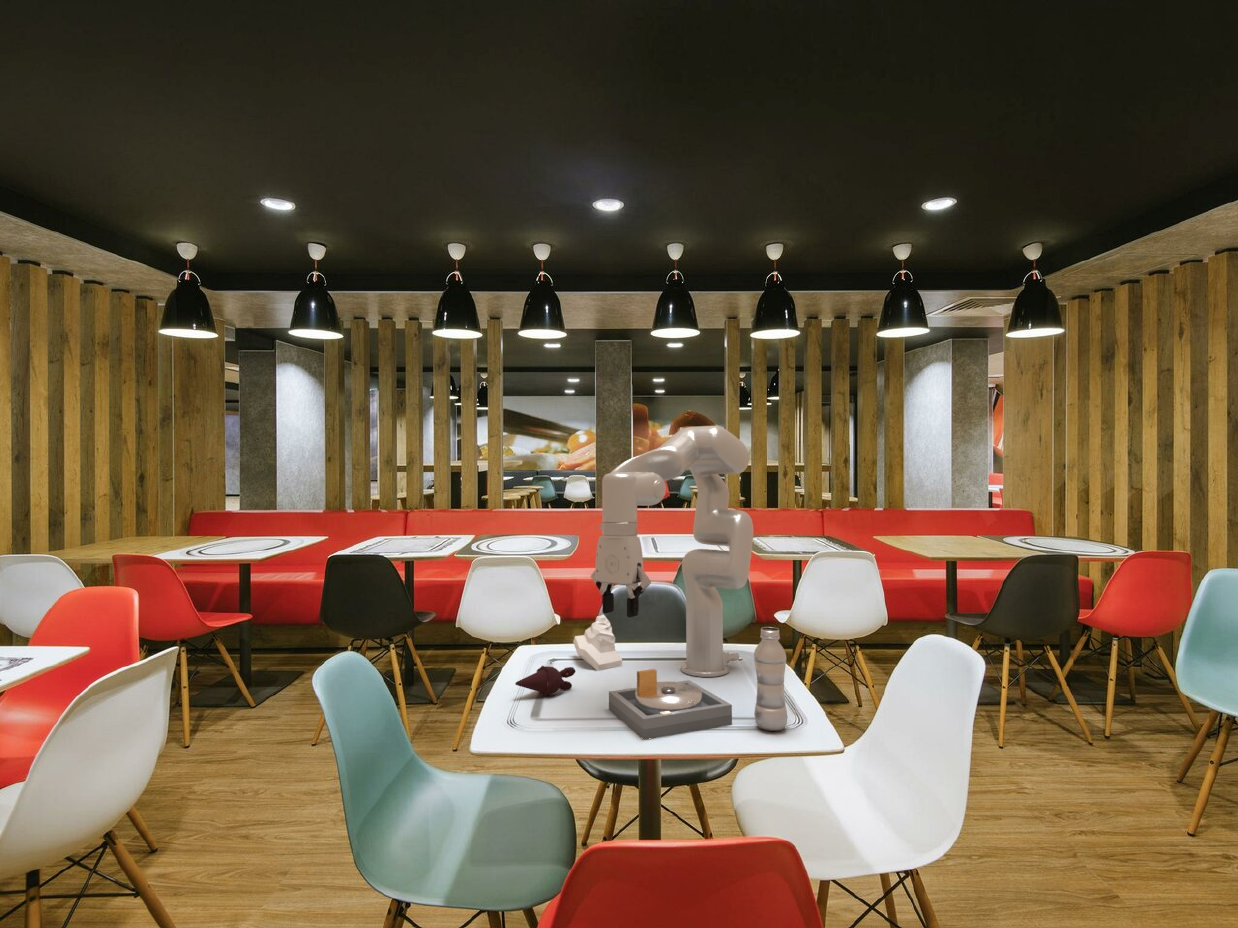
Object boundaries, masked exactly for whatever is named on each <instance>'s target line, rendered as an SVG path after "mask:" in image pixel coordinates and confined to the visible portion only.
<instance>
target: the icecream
mask: <svg viewBox="0 0 1238 928" xmlns="http://www.w3.org/2000/svg"><path fill="white" fill-rule="evenodd" d="M575 674H576V669H575V668H574V667H572V666H569V667H565V668H564V669H561V670H560V671H559V670H558V669H557V668H556V667H554V666H546V665H541V667H539V668H538V669H536V672H535V673H532V674H530V675H527V676H525V677H524V678H522V679H519V680H517V681H516V682H515V686H518V687H520V688H521V687H522V688H525V689H528V690H531V691H535V692H538V693H539V695H540V696H543V697H545V698H546V697H547V696H550V695H554V694H555V693H557V692H559V690H562V691H569V690H571V689H572V688H573V684H572V682H570V681H567V680H564V679H563V678H565V679H568V678H571V677H572V676H574V675H575Z"/></svg>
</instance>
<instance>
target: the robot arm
mask: <svg viewBox="0 0 1238 928" xmlns="http://www.w3.org/2000/svg"><path fill="white" fill-rule="evenodd" d="M749 463H750V454H749V450H748V448H747V446H746V445H745V443H743V441H742V440H741V439H739V438H738V437H737V436H735V435H734V434H733V433H732V432H730V431H729V430H727V429H725V428H724V427H722V426H718V425H702V426H701V425H700V426H687V427H683V428H681V429H679V430H678V431H677V432H676V433H675V434H673V435H672V436H671V437H669V438H668V439H667V440H666V441H665V442H663V443H662V444H661V445H660V446H659V447H658V448H655V449H652V450H648V451H647V452H644V453H642V454H639V455H637V456H634V457H632V458H630V459H627V460H626V461H624V462H622V463H620V464H619V465H618V466H617V467H615V468H614V469H613V470H612V471H611V472H609V473H606V474H605V475H604V476H603V477H602V480H601V481H602V486H601V490H602V491H601V493H602V494H601V495H602V497H601V498H602V499H601V501H602V508H601V509H602V510H601V511H602V517H601V519H602V523H601V524H599V525H598V526H599V527H598V528H599V530H600V531H602V532H601V533H602V535H600V536H599V537H598V541H597V547H596V554H595V569H594V571H592V573H591V575H590V578H591V579H592V581H593V582H594V584H595V586H596V587H597V589H598V590H599V594H600V595H602V596H601V598H602V599H601V600H602V601H601V602H602V603H601V607H602V614H603V615H606V614H610V613H612V612H614V611H615V609H614V608H615V606H614V605H615V603H614V602H615V600H614V599H615V597H614V596H615V595H614V593H613V592H612V591H613V588H614V586H615V585H617V586H618V585H619V586H626V591H627V593H628V598H626V616H627V618H634V617H637V616H638V615H639V610H640V609H639V607H640V606H639V605H640V604H639V598H640V597H641V596H642V594H643V593H644V591H646V589H647V588H649V586H650V585H651V584H652V580H651V579H650V578H649V576H648V575H647V573H646V572H645V571H644V559H643V558H644V556H643V548H642V543H641V539H640V536H638V506H644V507H645V506H648V507H649V506H655V505H657V504H659V503H660V502H662V501H663V499H664V497H665V495H666V492H667V491H666V489H667V487H666V482H667V481H670V480H674V479H676V478H678V477H680V476H682V475H683V474H684V473H685V471H687V469H689V471H690V473H691V475H692V477H693V480H694V482H695V485H696V488H697V489H696V490H697V497H696V507H695V515H694V520H693V530H692V531H693V532H692V533H693V537H694V540H695V541H696V542H697V543H700V544H703V545H708V546H718V547H719V546H723V547H728V550H721V549H720V550H718V549H709V548H708V549H707V548H697V549H692V550H690V551H688V552H687V553H685V554H684V556H683V558H682V562H681V571H682V577H683V582H684V588H685V610H686V611H685V612H686V613H685V621H686V622H685V623H686V626H685V629H686V630H685V632H686V634H685V637H686V643H685V644H686V646H685V647H686V653H685V654H686V659H685V661H683V662H682V663H681V664H680V671H681V672H682V673H684V674H686V675H689V676H694V677H699V678H700V677H701V678H711V677H712V678H713V677H714V678H715V677H720V676H724V675H726V674H728V673H729V672H730V667H729V666H730V665H728V663H729V662H735V661H736V662H737V661H739V660H740V655H739V653H738V652H734V653H730V652H725V651H724V638H723V637H724V634H723V633H724V629H723V628H724V625H723V622H724V621H723V620H724V618H723V617H724V616H723V615H724V614H723V612H724V611H723V609H724V608H723V606H724V605H723V601H722V597H721V595H720V594H719V591H718V590H717V589H716V588H720V589H721V588H722V589H728V590H729V589H731V590H732V589H733V590H739V589H742V588H744V586H745V585H746V584H747V582H748V578H749V576H750V575H749V574H750V566H751V559H752V551H753V543H754V541H753V540H754V524H753V520H752V518H751V516H750V515H749V513H748V512H746V511H745V510H740V509H729V503H730V492H729V491H730V490H729V488H728V486H727V484H726V483H725V482H724V479H722V477H721V476H720V475H737V474H741V473H743V472H744V471H745V470H746V469H747V468H748V466H749Z"/></svg>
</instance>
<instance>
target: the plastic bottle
mask: <svg viewBox="0 0 1238 928" xmlns="http://www.w3.org/2000/svg"><path fill="white" fill-rule="evenodd" d="M760 639H761V641H760V642H759V643H758V645H757V646H756V648H755V649H754V653H753V658H754V666H755V671H756V673H755V674H756V681H757V682H756V687H757V688H756V699H755V700H756V701H755V706H754V720H755V724H756V725H757V726H758V728H760V729H762V730H766V731H771V732H773V731H775V732H777V731H778V732H779V731H782V730H785V728H786V726H787V724H788V719H789V718H788V710H787V706H786V698H785V697H786V696H785V690H784V689H785V671H786V663H787V654H786V651H785V649H784V647H783V646H782V644H781V643H780V642H779V640H780V639H781V636H780V629H779V628H778V627H771V626H764V627H761V628H760Z"/></svg>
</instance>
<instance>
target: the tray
mask: <svg viewBox="0 0 1238 928" xmlns="http://www.w3.org/2000/svg"><path fill="white" fill-rule="evenodd" d="M678 682H680V683H686V684H690V685H693V686H695V687H697V688H699V689H700V690H701V692H702V707H698V708H692V709H686V710H680V711H673V712H670V711H664V712H660V714H655V715H646V714H644V713H643V712H642V711H640V710H639V709H638V708H636V707H635V691H636V689H637V687H631V688H625V689H618V690H610V691H608V711H610V713H612V714H613V715H614V717H616V718H618V719H619V720H620V721H621V722H622V723H623V724H624V725H626V726H627V727H628V728H629V729H630V730H632V731H633V733H635V734H636V735H637V736H639V737H640V738H641V737H642V738H643V739H646V740H650V739H649V738H652V739H656V738H657V737H658V738H662V737H668V736H673V735H675V736H676V735H680V734H685V733H691V732H697V731H702V730H708V729H713V728H719V727H725V726H731V725H733V705H732V704H731V703H730V702H727V701H726V700H724V699H722V698H721V697H719V696H717V694H716V695H715V694H714V693H712V692H710V691H709V690H707V689H705V688H704V687H702V686H700V685H698V684H697V683H695V682H694V681H692V680H689V679H687V680H681V681H678ZM642 738H641V739H642ZM658 738H657V739H658ZM643 739H642V740H643Z"/></svg>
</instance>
